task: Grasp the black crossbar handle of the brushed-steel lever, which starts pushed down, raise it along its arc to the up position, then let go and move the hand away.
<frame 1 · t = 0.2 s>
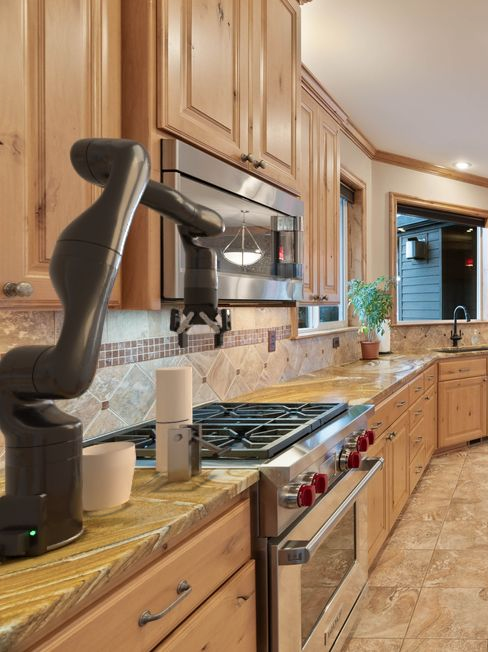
hand: (200, 347, 122), 29 cm above the worktop, tool pointing down, fingers open, 8 cm apart
cup: (106, 510, 91), on the worktop
lever: (202, 442, 105), point 9 cm above the worktop, hinge at -28.0°
bracket: (185, 483, 104), on the worktop
cylindrical container: (174, 472, 112), on the worktop
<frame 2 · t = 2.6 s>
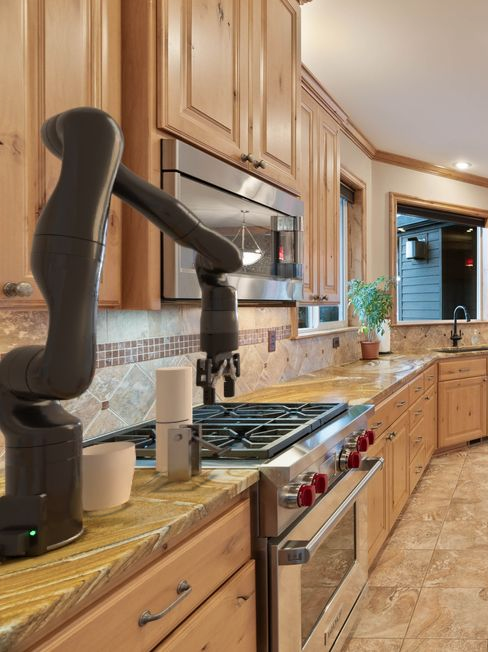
hand: (219, 400, 106), 18 cm above the worktop, tool pointing down, fingers open, 8 cm apart
nothing on the worktop moved.
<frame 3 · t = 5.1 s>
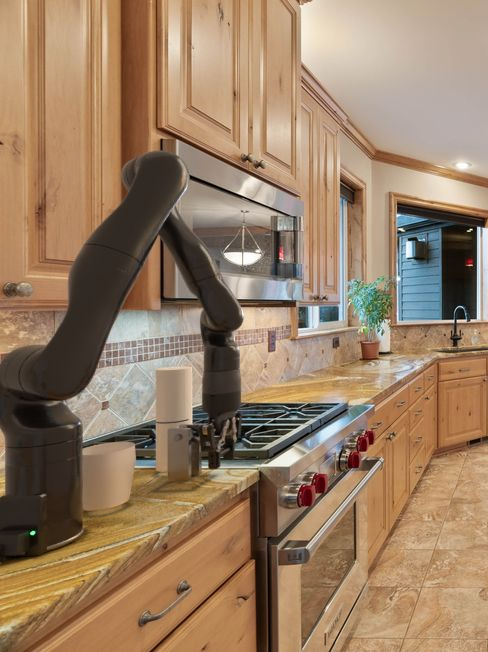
hand: (221, 463, 105), 4 cm above the worktop, tool pointing down, fingers closed on lever, 5 cm apart
lever: (202, 442, 105), point 9 cm above the worktop, hinge at -28.2°, touching gripper
everything else where it was.
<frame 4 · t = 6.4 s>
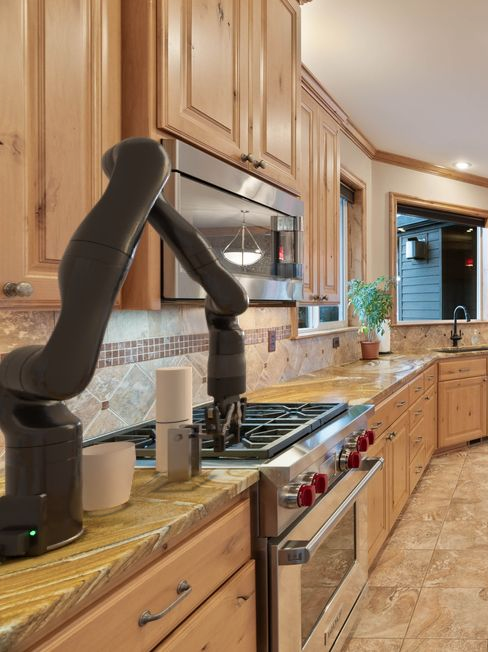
hand: (226, 447, 105), 8 cm above the worktop, tool pointing down, fingers closed on lever, 5 cm apart
lever: (204, 436, 105), point 11 cm above the worktop, hinge at -6.0°, touching gripper
everything else where it was.
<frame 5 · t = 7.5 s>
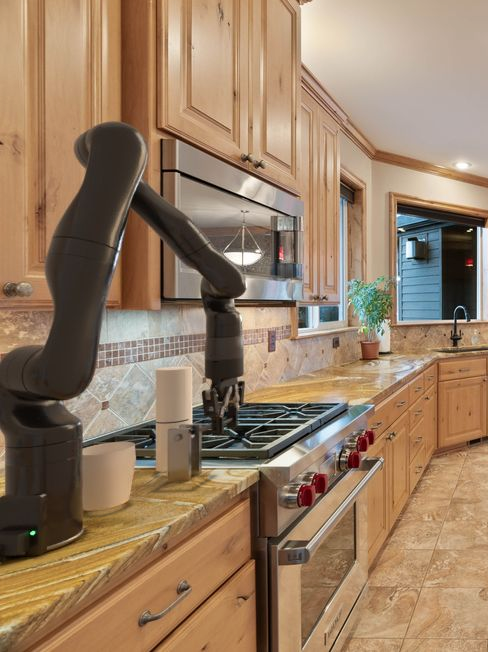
hand: (225, 430, 105), 12 cm above the worktop, tool pointing down, fingers closed on lever, 5 cm apart
lever: (203, 428, 105), point 12 cm above the worktop, hinge at 17.6°, touching gripper
everything else where it was.
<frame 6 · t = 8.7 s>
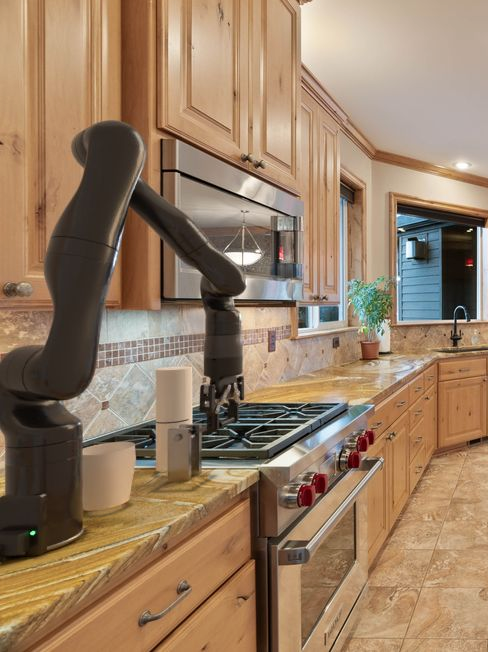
hand: (223, 425, 105), 13 cm above the worktop, tool pointing down, fingers open, 8 cm apart
lever: (203, 428, 105), point 12 cm above the worktop, hinge at 17.1°
everything else where it was.
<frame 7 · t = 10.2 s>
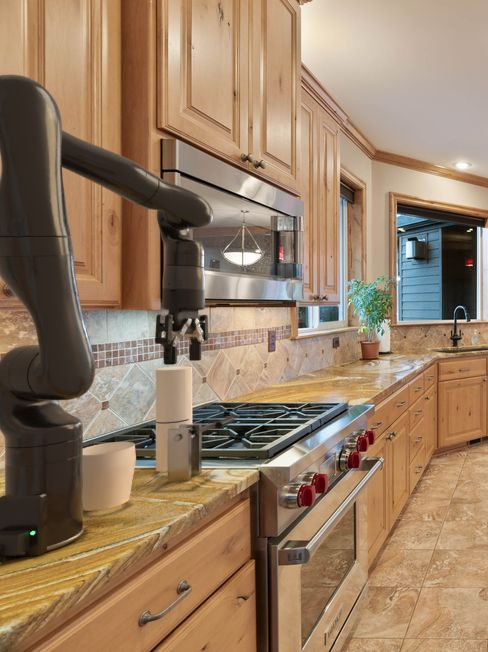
hand: (183, 362, 100), 28 cm above the worktop, tool pointing down, fingers open, 8 cm apart
nothing on the worktop moved.
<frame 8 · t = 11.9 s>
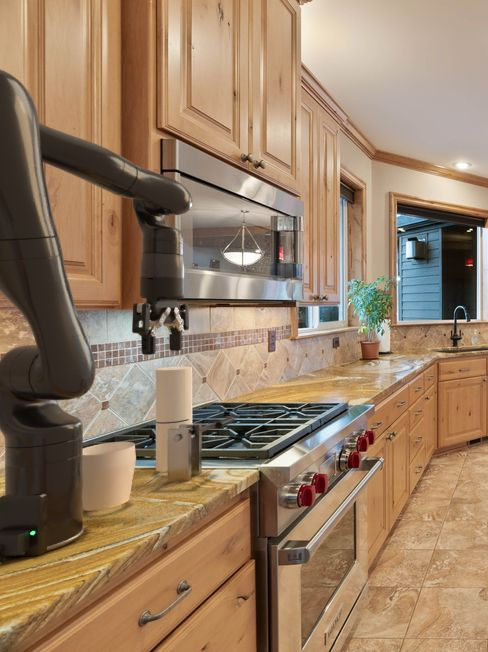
hand: (162, 352, 98), 30 cm above the worktop, tool pointing down, fingers open, 8 cm apart
nothing on the worktop moved.
at the end: lever at +17° (first picture: -28°); the gripper is holding nothing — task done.
